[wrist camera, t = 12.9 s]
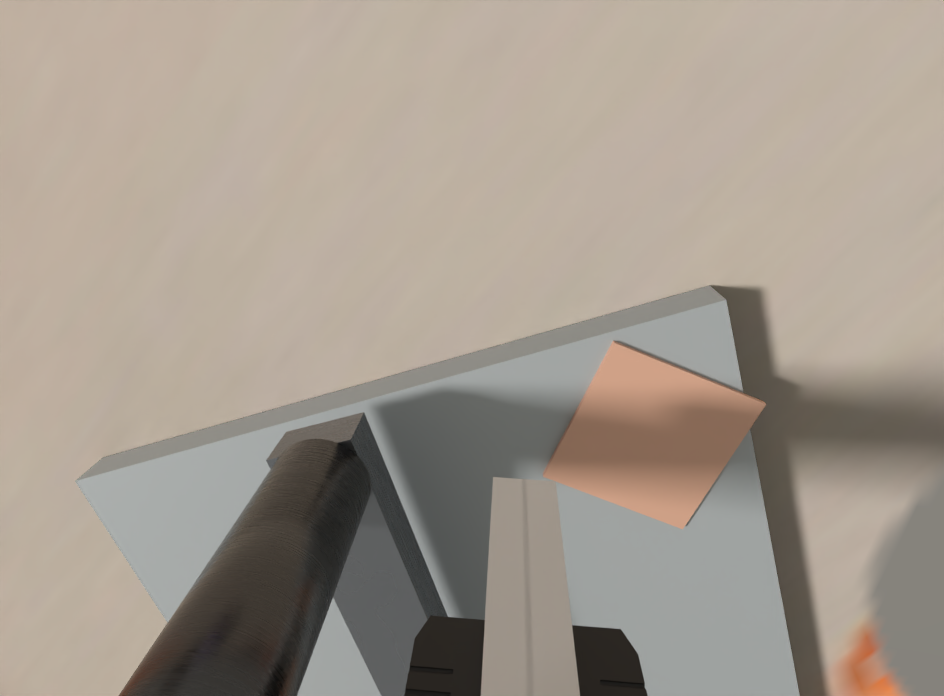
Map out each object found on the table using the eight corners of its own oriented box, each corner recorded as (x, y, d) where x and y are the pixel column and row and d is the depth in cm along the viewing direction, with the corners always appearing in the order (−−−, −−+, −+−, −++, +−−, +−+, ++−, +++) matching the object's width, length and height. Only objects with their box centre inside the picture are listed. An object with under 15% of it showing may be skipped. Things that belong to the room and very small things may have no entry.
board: (807, 790, 26) (824, 827, 25) (350, 854, 30) (342, 890, 28) (709, 285, 18) (726, 299, 17) (102, 457, 22) (74, 481, 20)
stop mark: (681, 525, 20) (682, 529, 20) (542, 473, 19) (543, 476, 19) (763, 401, 18) (766, 404, 18) (613, 340, 17) (614, 342, 17)
